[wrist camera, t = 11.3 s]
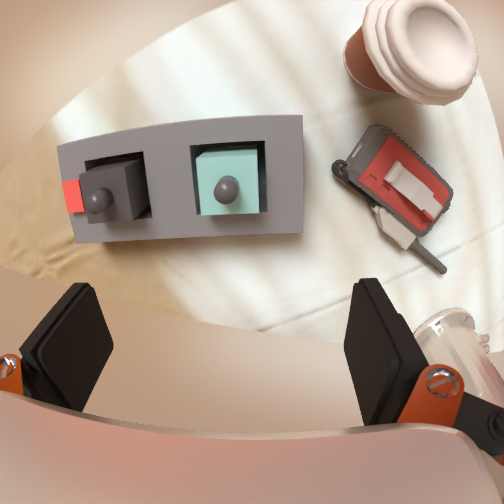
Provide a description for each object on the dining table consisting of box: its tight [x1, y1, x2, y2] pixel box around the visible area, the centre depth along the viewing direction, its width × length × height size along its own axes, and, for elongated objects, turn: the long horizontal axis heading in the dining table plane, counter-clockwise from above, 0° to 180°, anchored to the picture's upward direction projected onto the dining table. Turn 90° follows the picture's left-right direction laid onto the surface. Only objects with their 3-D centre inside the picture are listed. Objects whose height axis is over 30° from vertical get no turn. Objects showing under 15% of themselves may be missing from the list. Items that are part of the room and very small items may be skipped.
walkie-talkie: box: [332, 125, 453, 274], centre depth 28 cm, size 9×4×20 cm
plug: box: [196, 145, 259, 215], centre depth 24 cm, size 4×4×9 cm
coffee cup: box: [343, 0, 478, 106], centre depth 18 cm, size 9×9×12 cm
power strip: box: [57, 115, 303, 244], centre depth 24 cm, size 22×10×9 cm, turn 93°
